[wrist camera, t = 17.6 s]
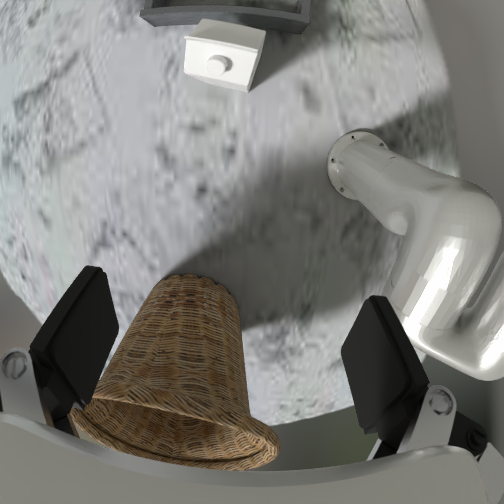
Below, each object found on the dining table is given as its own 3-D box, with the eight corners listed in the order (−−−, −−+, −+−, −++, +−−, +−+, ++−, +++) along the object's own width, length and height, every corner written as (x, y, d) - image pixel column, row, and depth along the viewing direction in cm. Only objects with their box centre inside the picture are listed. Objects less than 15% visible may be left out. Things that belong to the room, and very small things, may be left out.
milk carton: (218, 44, 33) (195, 7, 17) (261, 54, 34) (268, 20, 18) (205, 83, 37) (173, 68, 20) (248, 93, 38) (246, 83, 21)
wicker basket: (101, 304, 60) (47, 415, 32) (178, 208, 48) (98, 358, 19) (205, 371, 73) (193, 477, 44) (301, 310, 61) (326, 450, 32)
